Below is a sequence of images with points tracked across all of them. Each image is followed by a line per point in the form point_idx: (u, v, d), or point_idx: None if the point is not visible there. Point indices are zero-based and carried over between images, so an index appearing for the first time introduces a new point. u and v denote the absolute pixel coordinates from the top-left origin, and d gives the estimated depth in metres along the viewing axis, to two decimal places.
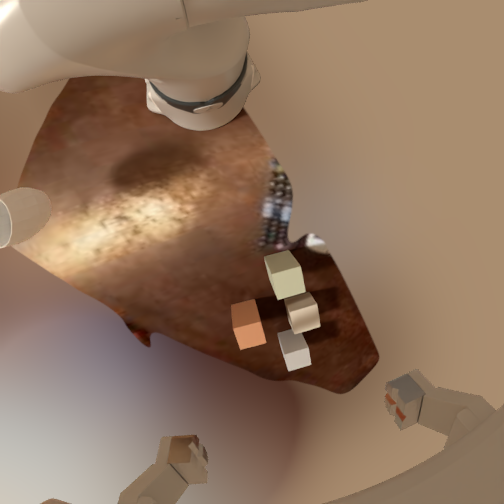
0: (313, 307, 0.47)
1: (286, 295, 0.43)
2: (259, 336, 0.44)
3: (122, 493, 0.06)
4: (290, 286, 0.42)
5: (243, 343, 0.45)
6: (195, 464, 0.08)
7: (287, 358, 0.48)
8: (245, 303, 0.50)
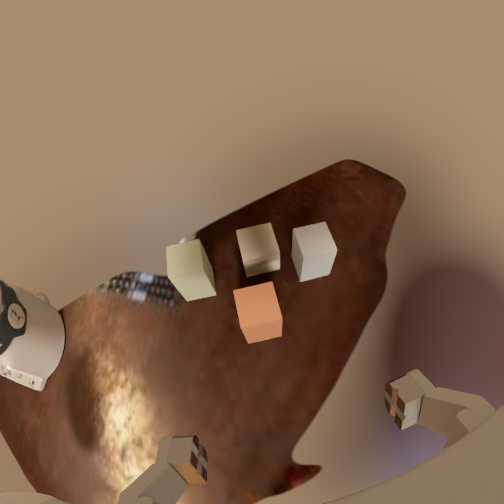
0: (240, 234, 0.39)
1: (199, 259, 0.34)
2: (259, 291, 0.31)
3: (122, 493, 0.06)
4: (187, 255, 0.34)
5: (270, 313, 0.29)
6: (195, 464, 0.08)
7: (311, 253, 0.34)
8: None
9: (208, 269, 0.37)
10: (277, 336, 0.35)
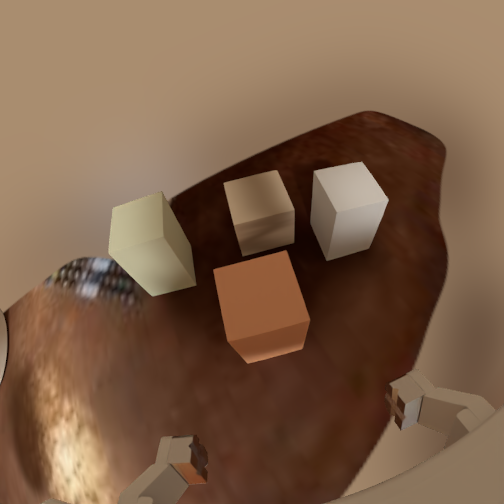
0: (230, 187, 0.24)
1: (158, 221, 0.19)
2: (263, 269, 0.16)
3: (122, 493, 0.06)
4: (141, 217, 0.20)
5: (286, 311, 0.15)
6: (195, 464, 0.08)
7: (348, 204, 0.19)
8: None
9: (179, 243, 0.23)
10: (295, 350, 0.21)
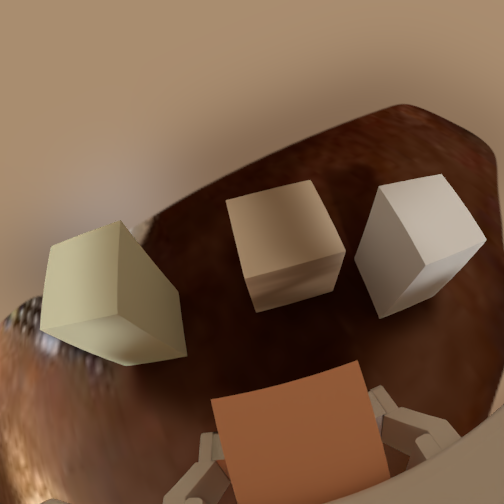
0: (237, 208, 0.15)
1: (110, 281, 0.10)
2: (312, 404, 0.07)
3: (165, 496, 0.06)
4: (85, 270, 0.10)
5: (353, 479, 0.05)
6: None
7: (440, 250, 0.10)
8: None
9: (156, 302, 0.14)
10: None
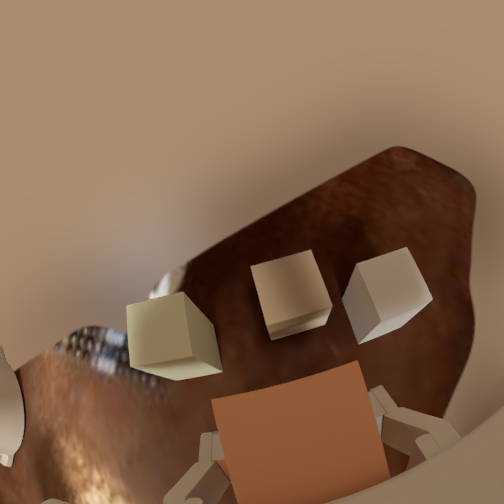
0: (259, 273, 0.22)
1: (184, 335, 0.17)
2: (312, 404, 0.07)
3: (165, 497, 0.06)
4: (163, 326, 0.17)
5: (353, 479, 0.05)
6: None
7: (393, 310, 0.16)
8: None
9: (205, 339, 0.20)
10: None
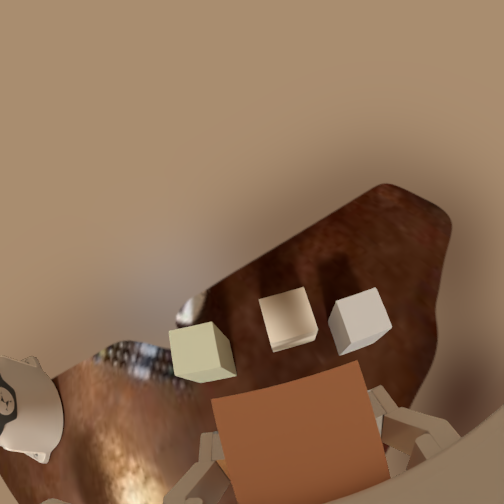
0: (265, 305, 0.29)
1: (214, 352, 0.24)
2: (312, 404, 0.07)
3: (166, 496, 0.06)
4: (198, 346, 0.24)
5: (352, 479, 0.05)
6: None
7: (361, 335, 0.24)
8: None
9: (225, 353, 0.28)
10: None
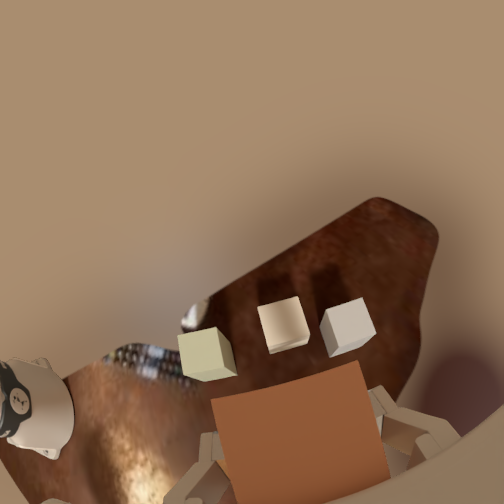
0: (263, 312, 0.32)
1: (218, 354, 0.27)
2: (312, 404, 0.07)
3: (165, 496, 0.06)
4: (204, 349, 0.28)
5: (353, 479, 0.05)
6: None
7: (347, 340, 0.27)
8: None
9: (228, 354, 0.31)
10: None
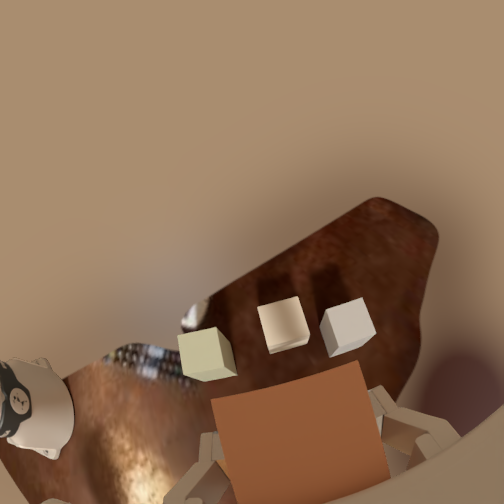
0: (263, 312, 0.32)
1: (218, 354, 0.27)
2: (312, 404, 0.07)
3: (165, 496, 0.06)
4: (204, 349, 0.28)
5: (353, 479, 0.05)
6: None
7: (347, 340, 0.27)
8: None
9: (227, 354, 0.31)
10: None
